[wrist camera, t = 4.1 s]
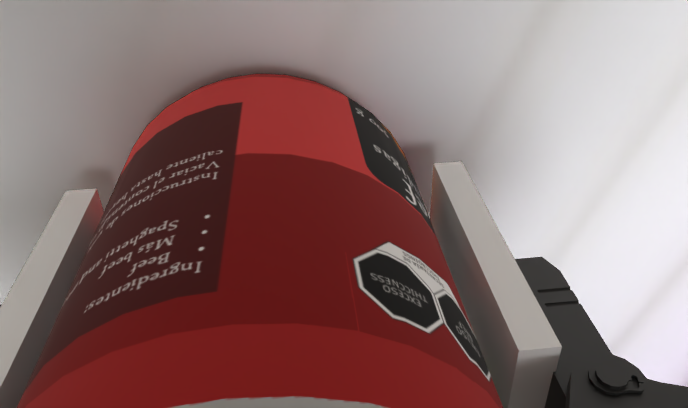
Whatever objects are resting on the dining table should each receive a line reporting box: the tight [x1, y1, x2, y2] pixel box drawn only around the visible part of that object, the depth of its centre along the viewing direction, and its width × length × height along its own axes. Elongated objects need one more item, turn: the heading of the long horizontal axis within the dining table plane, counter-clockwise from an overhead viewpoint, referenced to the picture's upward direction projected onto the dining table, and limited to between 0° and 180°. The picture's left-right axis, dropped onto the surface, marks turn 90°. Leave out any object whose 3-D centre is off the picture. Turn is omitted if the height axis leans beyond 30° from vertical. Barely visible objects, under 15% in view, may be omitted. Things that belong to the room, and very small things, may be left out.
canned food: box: [17, 74, 503, 408], centre depth 12 cm, size 8×8×11 cm
